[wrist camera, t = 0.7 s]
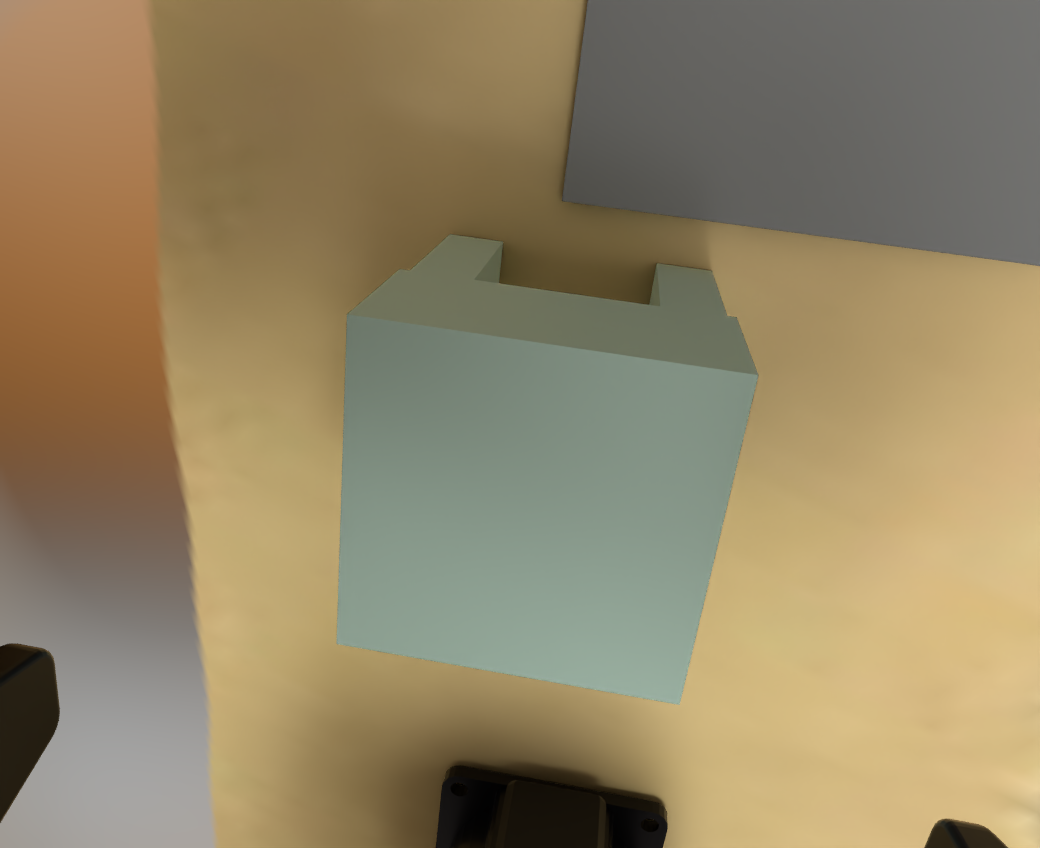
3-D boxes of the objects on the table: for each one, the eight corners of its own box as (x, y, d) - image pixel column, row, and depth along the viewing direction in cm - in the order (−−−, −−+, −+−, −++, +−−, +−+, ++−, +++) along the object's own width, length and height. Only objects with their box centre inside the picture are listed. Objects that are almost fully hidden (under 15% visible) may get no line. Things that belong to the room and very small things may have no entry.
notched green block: (667, 507, 21) (679, 704, 15) (427, 469, 21) (336, 644, 15) (717, 266, 18) (758, 375, 12) (445, 229, 19) (346, 313, 13)
